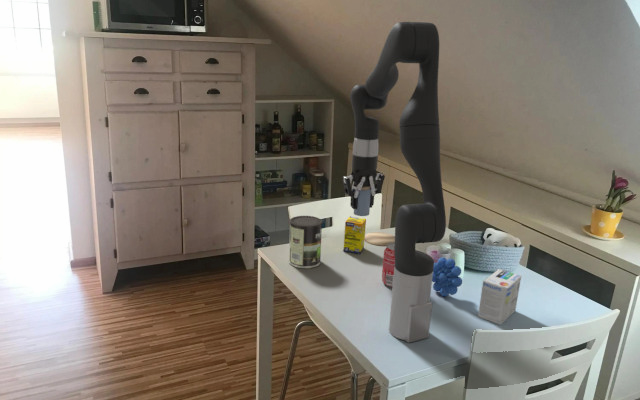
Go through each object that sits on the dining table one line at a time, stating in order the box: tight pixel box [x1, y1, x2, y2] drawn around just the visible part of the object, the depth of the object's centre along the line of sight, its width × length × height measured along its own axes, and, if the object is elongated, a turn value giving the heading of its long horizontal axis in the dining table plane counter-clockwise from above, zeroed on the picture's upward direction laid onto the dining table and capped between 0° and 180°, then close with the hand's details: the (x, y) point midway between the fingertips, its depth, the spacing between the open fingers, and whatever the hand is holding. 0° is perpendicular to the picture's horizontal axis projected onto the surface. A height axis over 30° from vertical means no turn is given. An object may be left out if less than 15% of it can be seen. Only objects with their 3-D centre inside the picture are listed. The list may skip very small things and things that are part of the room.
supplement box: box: [342, 216, 367, 255], centre depth 181 cm, size 6×6×11 cm
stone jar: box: [353, 186, 371, 217], centre depth 162 cm, size 5×5×9 cm
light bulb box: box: [477, 268, 522, 326], centre depth 142 cm, size 11×7×11 cm, turn 141°
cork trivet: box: [364, 231, 395, 247], centre depth 193 cm, size 12×12×1 cm
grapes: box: [432, 257, 463, 297], centre depth 151 cm, size 12×7×12 cm, turn 32°
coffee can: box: [288, 215, 323, 269], centre depth 169 cm, size 10×10×14 cm
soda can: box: [381, 243, 395, 288], centre depth 157 cm, size 7×7×12 cm
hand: (361, 207), depth 163 cm, fingers closed on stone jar, 4 cm apart
